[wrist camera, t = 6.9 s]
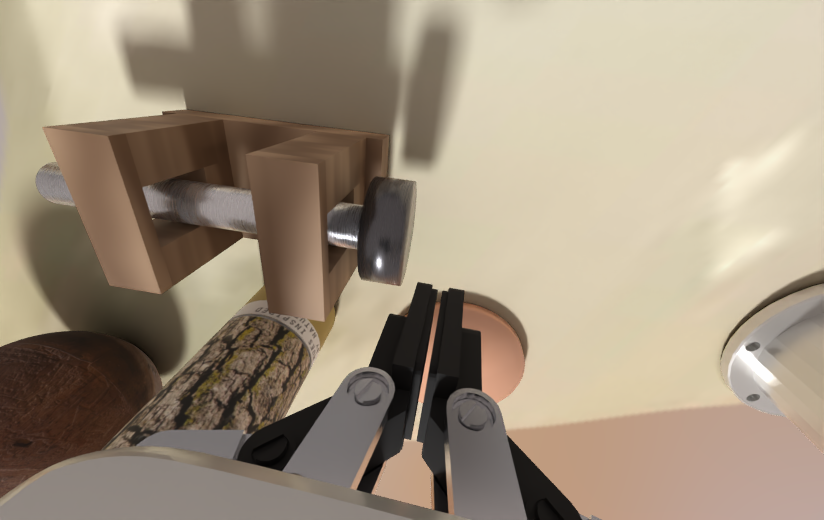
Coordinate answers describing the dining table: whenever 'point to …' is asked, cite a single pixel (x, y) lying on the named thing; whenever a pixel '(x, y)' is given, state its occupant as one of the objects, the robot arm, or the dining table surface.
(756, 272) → the dining table surface
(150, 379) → the wooden sphere
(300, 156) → the bearing housing
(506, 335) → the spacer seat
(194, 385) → the paper tube
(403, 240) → the shaft
